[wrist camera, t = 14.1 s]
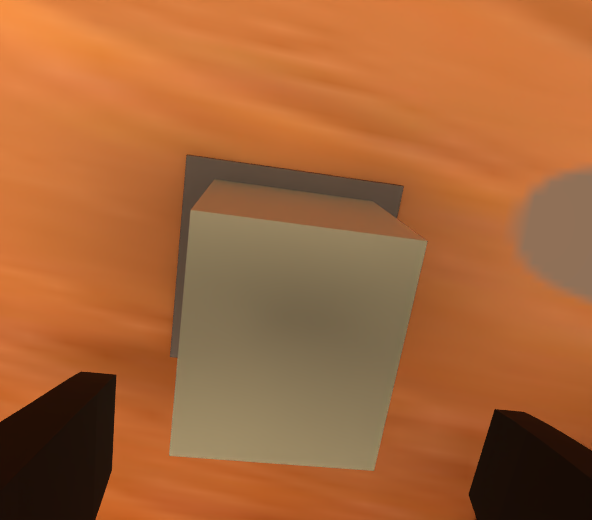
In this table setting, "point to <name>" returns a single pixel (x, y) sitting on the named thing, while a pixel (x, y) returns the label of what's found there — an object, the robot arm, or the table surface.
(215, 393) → the beige cuboid
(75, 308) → the table surface
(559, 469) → the robot arm
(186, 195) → the thin dark grey panel
